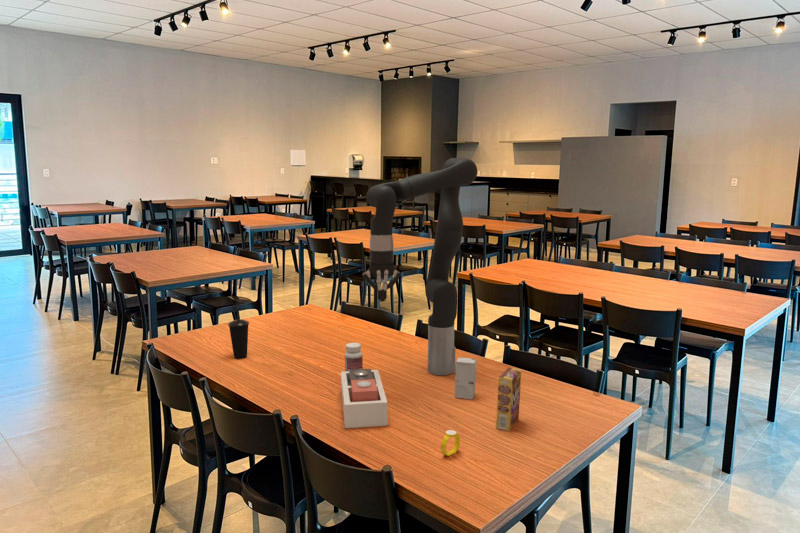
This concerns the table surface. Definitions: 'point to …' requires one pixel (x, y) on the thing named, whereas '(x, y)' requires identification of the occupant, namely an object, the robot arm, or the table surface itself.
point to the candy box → (508, 399)
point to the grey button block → (360, 374)
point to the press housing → (364, 405)
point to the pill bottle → (353, 357)
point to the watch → (443, 446)
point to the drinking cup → (239, 337)
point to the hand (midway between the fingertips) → (382, 300)
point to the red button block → (364, 390)
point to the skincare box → (465, 378)
